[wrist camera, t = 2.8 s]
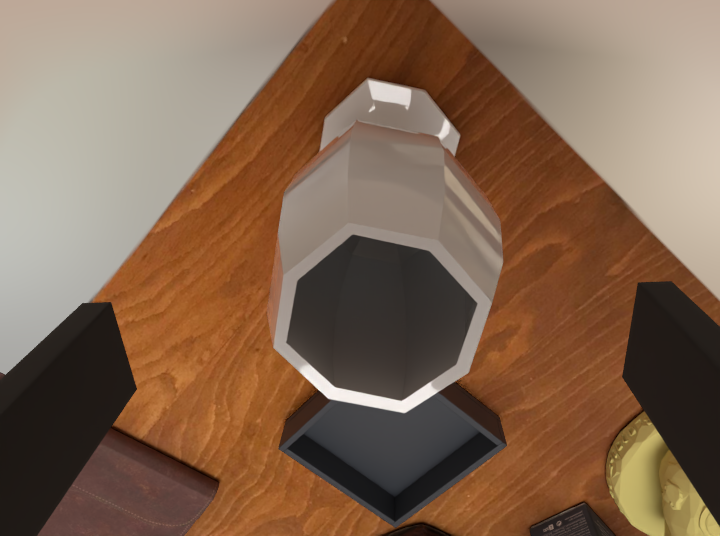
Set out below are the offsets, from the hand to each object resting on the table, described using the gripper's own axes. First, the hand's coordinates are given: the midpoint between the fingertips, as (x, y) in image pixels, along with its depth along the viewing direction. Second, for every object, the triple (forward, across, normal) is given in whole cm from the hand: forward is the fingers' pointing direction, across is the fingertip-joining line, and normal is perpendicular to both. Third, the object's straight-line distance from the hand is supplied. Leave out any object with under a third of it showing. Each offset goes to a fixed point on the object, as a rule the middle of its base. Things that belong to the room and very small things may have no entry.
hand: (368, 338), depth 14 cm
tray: (+22, 0, -21) cm, 31 cm away
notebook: (+22, -28, -28) cm, 45 cm away
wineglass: (+22, 0, 0) cm, 22 cm away
